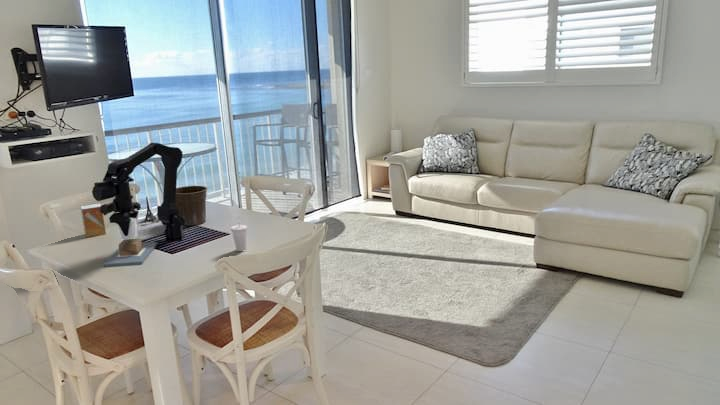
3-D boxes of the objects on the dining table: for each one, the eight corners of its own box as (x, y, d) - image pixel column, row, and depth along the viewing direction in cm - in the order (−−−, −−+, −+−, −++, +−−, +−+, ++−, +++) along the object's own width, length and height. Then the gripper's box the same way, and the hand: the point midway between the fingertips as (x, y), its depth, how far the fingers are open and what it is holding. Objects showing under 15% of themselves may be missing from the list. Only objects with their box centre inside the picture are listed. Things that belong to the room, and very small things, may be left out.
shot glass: (123, 234, 207) (120, 217, 205) (141, 233, 207) (138, 216, 205) (117, 240, 200) (114, 222, 198) (135, 239, 201) (132, 221, 199)
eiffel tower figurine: (142, 227, 242) (138, 200, 238) (130, 224, 248) (126, 197, 244) (170, 219, 253) (166, 192, 250) (158, 216, 259) (154, 190, 256)
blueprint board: (157, 244, 217) (157, 241, 217) (142, 264, 196) (141, 261, 196) (122, 246, 215) (122, 244, 215) (103, 266, 194) (103, 263, 194)
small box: (86, 237, 228) (81, 209, 225) (84, 234, 233) (79, 206, 230) (106, 233, 232) (101, 206, 229) (104, 230, 238) (99, 203, 234)
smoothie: (252, 248, 209) (249, 214, 205) (244, 253, 203) (240, 219, 199) (238, 246, 211) (235, 213, 207) (229, 252, 205) (226, 218, 202)
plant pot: (201, 215, 257) (197, 183, 252) (216, 221, 245) (213, 188, 241) (169, 222, 246) (164, 189, 242) (184, 230, 235) (179, 195, 230)
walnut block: (142, 248, 209) (140, 238, 208) (137, 254, 203) (136, 244, 201) (125, 249, 208) (123, 239, 207) (120, 255, 202) (118, 245, 201)
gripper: (109, 190, 207) (115, 227, 211) (91, 202, 189) (98, 242, 194) (138, 188, 208) (143, 225, 213) (123, 200, 190) (129, 240, 195)
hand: (128, 233), depth 203 cm, fingers closed on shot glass, 6 cm apart
